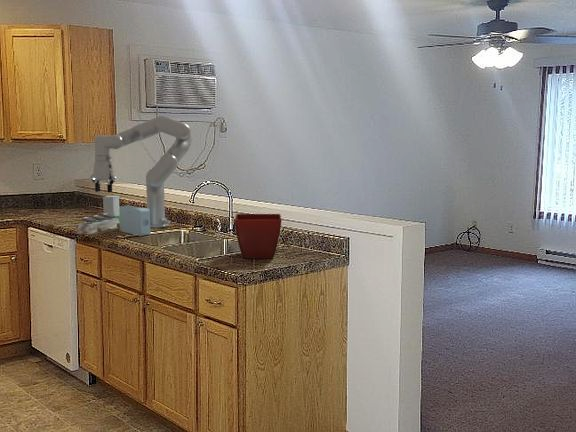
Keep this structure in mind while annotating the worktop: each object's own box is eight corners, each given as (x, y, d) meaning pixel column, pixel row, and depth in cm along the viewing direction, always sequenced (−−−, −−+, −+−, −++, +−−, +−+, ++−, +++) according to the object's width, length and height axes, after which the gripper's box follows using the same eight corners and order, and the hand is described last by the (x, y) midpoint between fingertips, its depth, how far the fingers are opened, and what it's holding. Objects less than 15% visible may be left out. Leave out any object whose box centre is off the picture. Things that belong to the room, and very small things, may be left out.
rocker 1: (95, 223, 357) (96, 219, 357) (91, 224, 354) (91, 220, 354) (86, 220, 360) (86, 216, 359) (81, 221, 356) (82, 217, 356)
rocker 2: (105, 221, 365) (106, 217, 364) (101, 221, 361) (101, 218, 361) (96, 218, 367) (96, 214, 367) (92, 219, 364) (92, 215, 363)
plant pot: (280, 251, 302) (280, 213, 300) (281, 260, 283) (281, 219, 281) (236, 252, 301) (236, 213, 299) (235, 260, 282) (234, 219, 280)
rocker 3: (115, 219, 372) (115, 215, 372) (111, 219, 369) (111, 216, 368) (106, 216, 374) (106, 213, 374) (101, 217, 371) (102, 213, 371)
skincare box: (114, 224, 386) (113, 196, 384) (103, 224, 387) (102, 196, 385) (120, 222, 394) (119, 195, 392) (109, 222, 396) (108, 195, 394)
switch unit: (127, 227, 373) (127, 218, 373) (96, 235, 350) (95, 225, 349) (106, 226, 379) (106, 217, 378) (74, 233, 355) (73, 223, 355)
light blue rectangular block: (118, 231, 363) (117, 206, 361) (128, 230, 367) (127, 205, 365) (140, 236, 345) (139, 210, 343) (150, 235, 349) (149, 209, 347)
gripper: (120, 158, 368) (121, 191, 370) (93, 158, 375) (95, 190, 377) (111, 159, 361) (112, 193, 364) (84, 158, 368) (86, 191, 371)
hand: (103, 191), depth 371 cm, fingers open, 7 cm apart
